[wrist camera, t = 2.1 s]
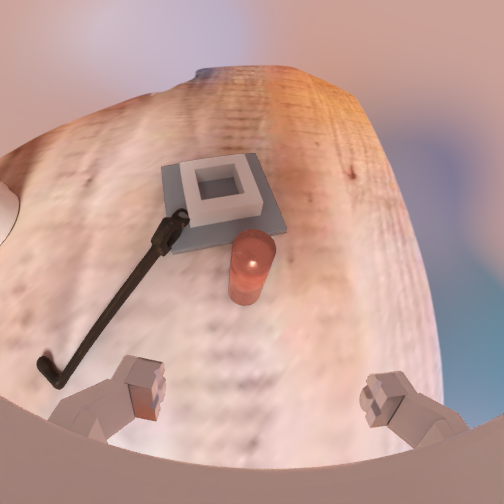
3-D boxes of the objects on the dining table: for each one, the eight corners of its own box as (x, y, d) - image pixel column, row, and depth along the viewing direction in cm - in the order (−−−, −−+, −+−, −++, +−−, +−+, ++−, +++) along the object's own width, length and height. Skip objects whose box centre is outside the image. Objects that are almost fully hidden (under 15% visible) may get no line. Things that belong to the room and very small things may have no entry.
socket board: (172, 254, 37) (168, 239, 33) (161, 171, 44) (158, 153, 40) (285, 232, 40) (291, 216, 37) (254, 157, 47) (257, 139, 44)
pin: (233, 308, 34) (238, 271, 24) (225, 279, 36) (227, 233, 26) (264, 301, 35) (281, 262, 25) (255, 273, 37) (268, 226, 27)
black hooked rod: (47, 365, 29) (170, 207, 39) (69, 391, 28) (197, 225, 39) (25, 363, 24) (164, 186, 35) (49, 393, 23) (193, 205, 34)
